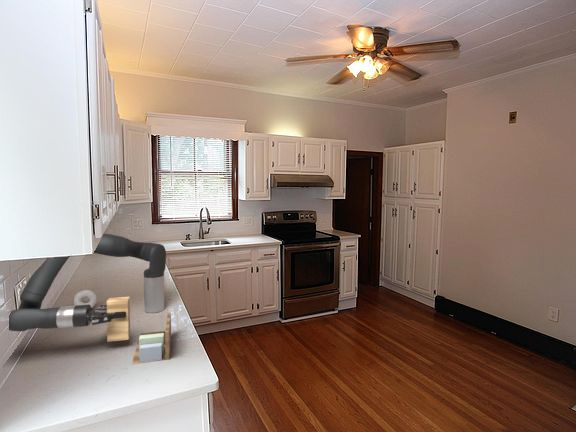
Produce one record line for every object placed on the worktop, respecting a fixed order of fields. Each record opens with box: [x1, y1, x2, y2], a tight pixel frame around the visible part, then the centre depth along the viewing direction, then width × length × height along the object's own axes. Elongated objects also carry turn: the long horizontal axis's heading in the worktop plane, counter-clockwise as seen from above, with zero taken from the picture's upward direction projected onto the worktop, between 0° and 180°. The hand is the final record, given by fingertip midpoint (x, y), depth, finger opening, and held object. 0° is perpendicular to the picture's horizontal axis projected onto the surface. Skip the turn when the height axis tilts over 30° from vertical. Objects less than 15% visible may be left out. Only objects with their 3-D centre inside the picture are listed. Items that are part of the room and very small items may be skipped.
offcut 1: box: [138, 333, 164, 358], centre depth 120 cm, size 3×8×7 cm, turn 107°
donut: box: [73, 289, 98, 309], centre depth 164 cm, size 10×4×10 cm, turn 114°
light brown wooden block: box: [106, 296, 131, 343], centre depth 124 cm, size 4×7×15 cm, turn 107°
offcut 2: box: [140, 343, 163, 363], centre depth 117 cm, size 2×7×5 cm, turn 107°
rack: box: [131, 311, 172, 365], centre depth 124 cm, size 19×12×11 cm, turn 17°
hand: (126, 312), depth 125 cm, fingers closed on light brown wooden block, 4 cm apart
